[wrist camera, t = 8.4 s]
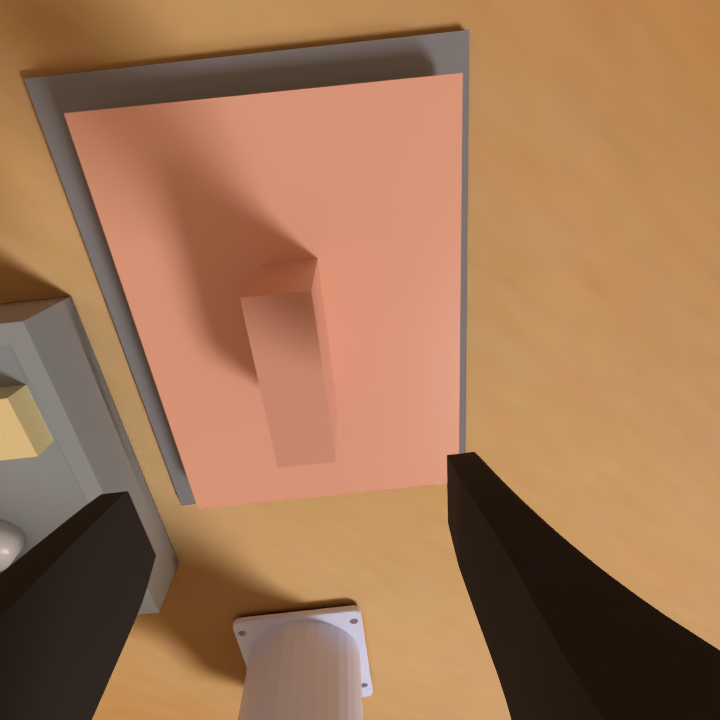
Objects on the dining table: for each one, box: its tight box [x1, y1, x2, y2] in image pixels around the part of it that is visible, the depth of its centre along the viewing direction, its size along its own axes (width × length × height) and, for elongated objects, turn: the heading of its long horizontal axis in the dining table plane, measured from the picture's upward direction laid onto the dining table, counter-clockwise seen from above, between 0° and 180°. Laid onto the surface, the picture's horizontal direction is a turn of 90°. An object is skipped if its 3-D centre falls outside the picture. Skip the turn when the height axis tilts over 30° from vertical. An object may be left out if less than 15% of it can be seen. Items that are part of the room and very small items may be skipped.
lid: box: [64, 73, 463, 509], centre depth 16 cm, size 17×13×6 cm
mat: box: [24, 30, 469, 505], centre depth 19 cm, size 19×15×1 cm
